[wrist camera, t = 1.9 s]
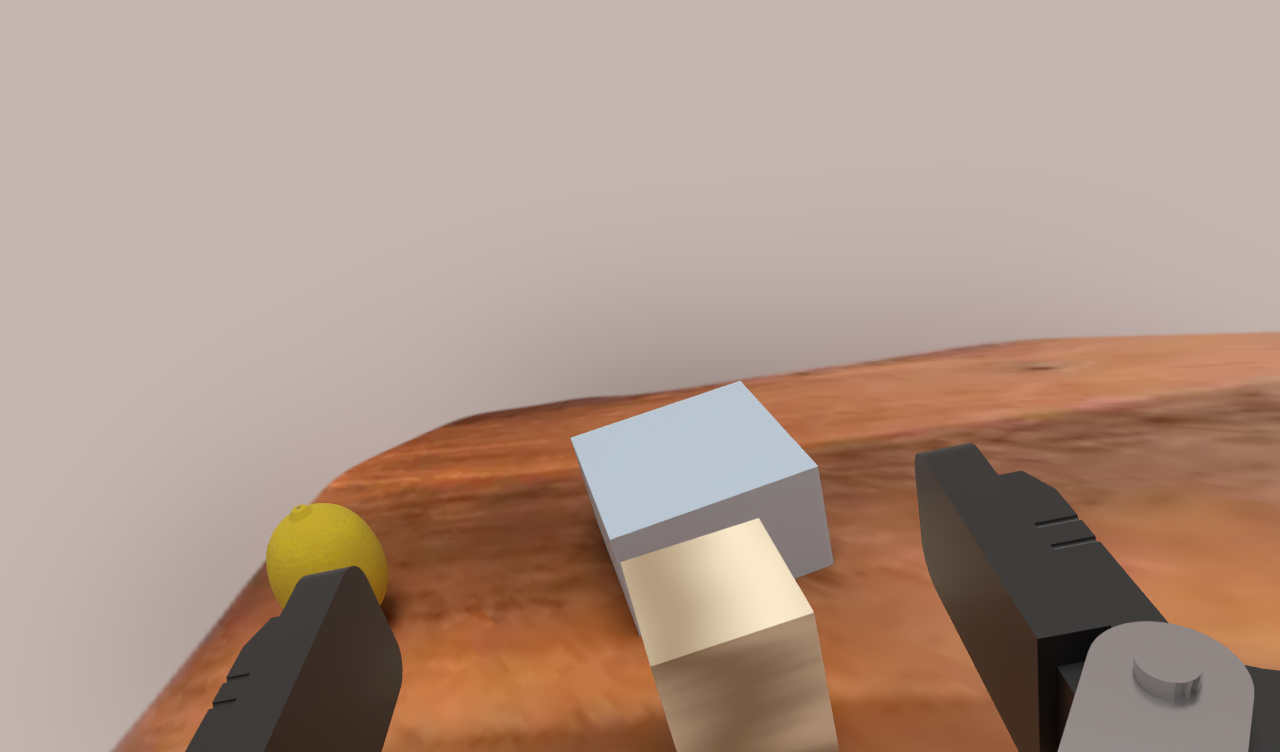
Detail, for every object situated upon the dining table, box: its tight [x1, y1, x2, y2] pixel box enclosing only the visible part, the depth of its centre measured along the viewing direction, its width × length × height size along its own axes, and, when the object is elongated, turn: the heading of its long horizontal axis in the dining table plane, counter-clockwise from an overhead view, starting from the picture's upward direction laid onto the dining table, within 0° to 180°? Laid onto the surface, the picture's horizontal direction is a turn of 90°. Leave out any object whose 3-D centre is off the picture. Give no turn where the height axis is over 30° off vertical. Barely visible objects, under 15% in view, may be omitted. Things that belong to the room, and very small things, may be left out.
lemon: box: [266, 503, 388, 609], centre depth 43 cm, size 6×6×8 cm
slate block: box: [571, 381, 834, 636], centre depth 43 cm, size 10×10×6 cm
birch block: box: [620, 518, 839, 752], centre depth 29 cm, size 5×5×10 cm
